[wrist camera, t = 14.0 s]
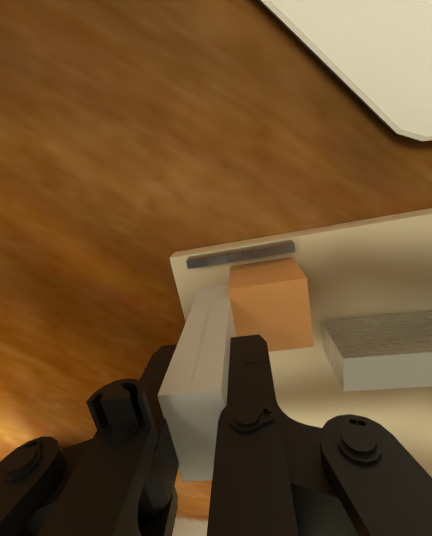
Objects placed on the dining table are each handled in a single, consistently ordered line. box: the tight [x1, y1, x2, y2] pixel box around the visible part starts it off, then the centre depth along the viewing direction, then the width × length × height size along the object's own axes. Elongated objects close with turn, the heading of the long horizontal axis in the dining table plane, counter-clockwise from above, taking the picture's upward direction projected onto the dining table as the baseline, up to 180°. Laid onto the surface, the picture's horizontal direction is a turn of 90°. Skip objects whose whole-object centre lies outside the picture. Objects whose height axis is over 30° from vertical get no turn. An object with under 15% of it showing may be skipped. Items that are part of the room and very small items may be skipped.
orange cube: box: [228, 257, 314, 352], centre depth 12 cm, size 3×3×3 cm
